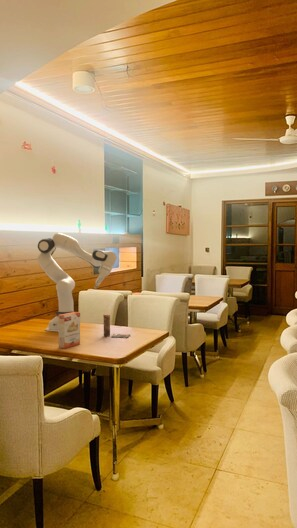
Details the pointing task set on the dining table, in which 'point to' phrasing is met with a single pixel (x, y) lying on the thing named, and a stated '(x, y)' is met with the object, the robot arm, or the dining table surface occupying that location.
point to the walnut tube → (106, 325)
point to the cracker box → (69, 329)
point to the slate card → (120, 335)
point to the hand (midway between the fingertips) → (96, 286)
